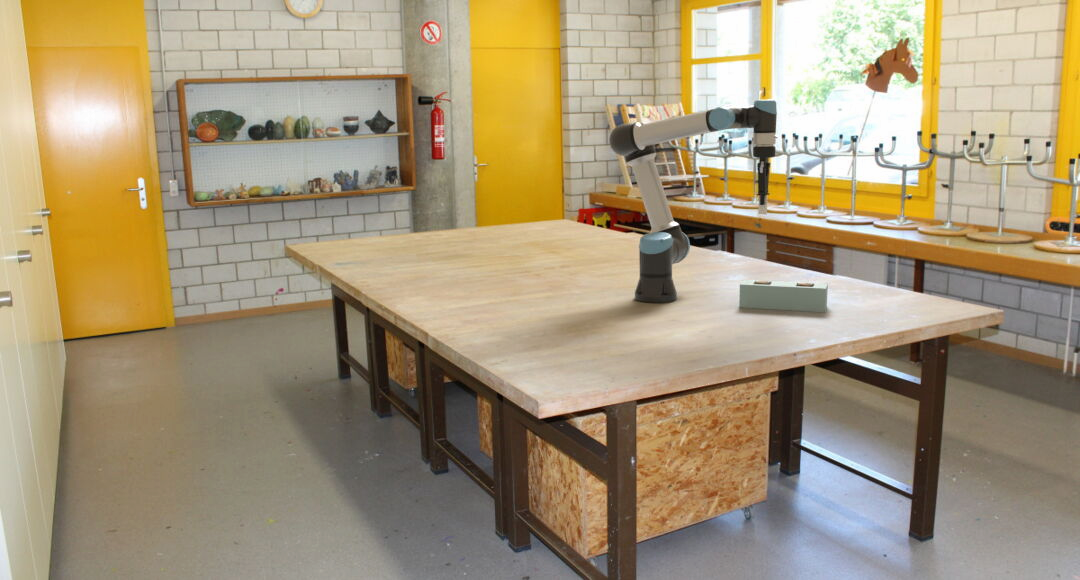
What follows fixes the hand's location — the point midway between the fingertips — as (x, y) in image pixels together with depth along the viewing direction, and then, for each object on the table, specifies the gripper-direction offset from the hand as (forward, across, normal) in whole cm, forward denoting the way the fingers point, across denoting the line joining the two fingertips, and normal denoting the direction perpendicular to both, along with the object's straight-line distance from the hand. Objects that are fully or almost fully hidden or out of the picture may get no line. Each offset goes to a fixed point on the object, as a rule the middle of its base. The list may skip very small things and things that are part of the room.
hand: (762, 213), depth 311 cm
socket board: (+30, -10, -9) cm, 33 cm away
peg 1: (+30, -10, -2) cm, 32 cm away
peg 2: (+30, -10, -16) cm, 36 cm away
